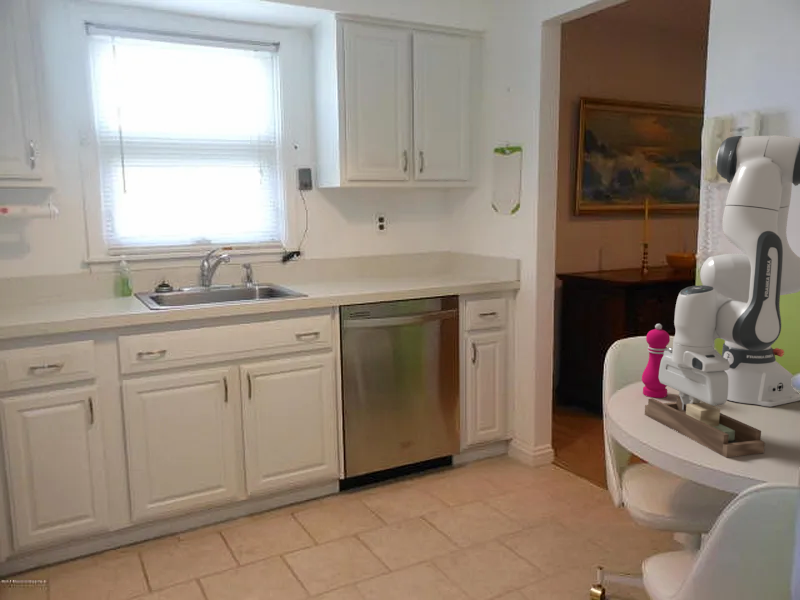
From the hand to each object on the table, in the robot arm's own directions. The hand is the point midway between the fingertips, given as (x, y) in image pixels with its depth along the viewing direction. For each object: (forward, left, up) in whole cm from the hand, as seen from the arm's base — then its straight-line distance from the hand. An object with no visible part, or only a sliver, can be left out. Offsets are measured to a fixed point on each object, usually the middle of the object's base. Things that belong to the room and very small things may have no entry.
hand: (688, 412), depth 154 cm
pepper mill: (-8, -24, -4) cm, 26 cm away
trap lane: (0, +4, -4) cm, 5 cm away
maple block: (0, +4, -1) cm, 5 cm away
